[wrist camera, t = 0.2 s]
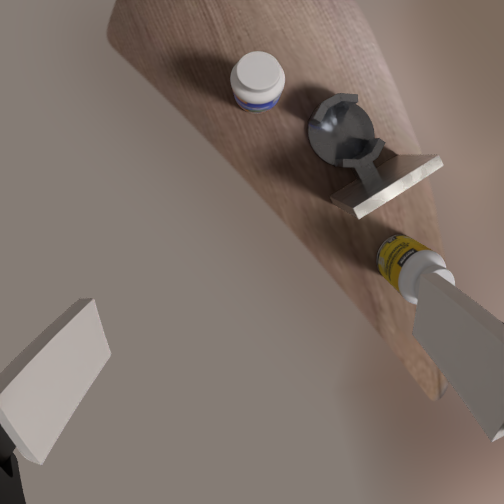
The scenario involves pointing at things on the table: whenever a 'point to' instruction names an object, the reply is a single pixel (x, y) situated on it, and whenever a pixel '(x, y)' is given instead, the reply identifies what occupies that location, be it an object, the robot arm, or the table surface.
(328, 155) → the cup bracket
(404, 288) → the pill bottle
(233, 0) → the table surface
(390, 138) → the table surface
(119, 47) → the table surface
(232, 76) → the pill bottle
